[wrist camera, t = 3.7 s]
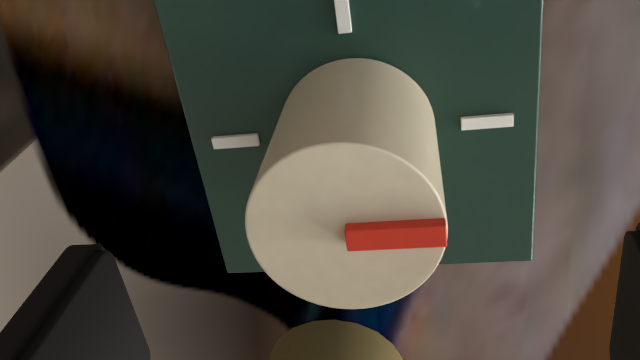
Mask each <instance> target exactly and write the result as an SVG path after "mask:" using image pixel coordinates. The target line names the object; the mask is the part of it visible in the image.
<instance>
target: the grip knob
mask: <svg viewBox="0 0 640 360" xmlns="http://www.w3.org/2000/svg"><path fill="white" fill-rule="evenodd" d="M245 229H246V235H247V239H248V242H249V245H250V248H251V250H252V252H253V255H254V257H255V258H256V260H257V262H258V263H259V265H260V266H261V267H262V269H263V270H264V271H265V272H266V273H267V274H268V276H269V277H271V278H272V279H273V280H274V281H275V282H276V283H277V284H278V285H280V286H281V287H283V288H284V289H285V290H287V291H289V292H290V293H292V294H294V295H296V296H297V297H300V298H302V299H304V300H307V301H309V302H312V303H315V304H318V305H322V306H327V307H332V308H340V309H363V308H371V307H376V306H381V305H384V304H387V303H391V302H393V301H396V300H398V299H400V298H402V297H404V296H406V295H408V294H409V293H411V292H413V291H414V290H415V289H417V288H418V287H419V286H421V285H422V284H423V283H424V282H425V281H426V280H427V279H428V278H429V277H430V275H431V274H432V273H433V272H434V270H435V269H436V267H437V266H438V264H439V262H440V260H441V258H442V256H443V253H444V250H445V247H447V238H448V223H447V215H446V207H445V199H444V191H443V183H442V174H441V166H440V158H439V150H438V142H437V134H436V126H435V118H434V114H433V110H432V107H431V105H430V102H429V100H428V98H427V97H426V95H425V93H424V92H423V90H422V89H421V88H420V87H419V85H418V84H417V83H416V82H415V81H414V80H413V79H412V78H410V77H409V76H408V75H407V74H405V73H404V72H402V71H401V70H399V69H397V68H395V67H393V66H391V65H389V64H386V63H383V62H381V61H376V60H372V59H364V58H348V59H342V60H336V61H333V62H330V63H327V64H324V65H322V66H320V67H318V68H316V69H315V70H313V71H311V72H310V73H308V74H307V75H306V76H305V77H304V78H302V79H301V80H300V81H299V82H298V84H297V85H296V86H295V87H294V88H293V90H292V91H291V93H290V94H289V96H288V98H287V100H286V102H285V105H284V107H283V110H282V113H281V115H280V118H279V120H278V123H277V126H276V128H275V131H274V133H273V136H272V138H271V141H270V144H269V146H268V149H267V151H266V154H265V157H264V159H263V162H262V164H261V167H260V170H259V172H258V175H257V177H256V180H255V182H254V185H253V188H252V190H251V193H250V196H249V199H248V202H247V205H246V212H245Z"/></svg>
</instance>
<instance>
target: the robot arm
mask: <svg viewBox="0 0 640 360" xmlns="http://www.w3.org/2000/svg"><path fill="white" fill-rule="evenodd" d="M0 360H150V350H149V347H148V344H147V342H146V339H145V337H144V334H143V332H142V329H141V327H140V324H139V322H138V318H137V316H136V313H135V311H134V308H133V306H132V303H131V300H130V298H129V295H128V292H127V290H126V287H125V285H124V282H123V279H122V277H121V274H120V272H119V269H118V266H117V264H116V261H115V259H114V256H113V254H112V253H111V252H108V251H105V249H104V248H103V247H102V246H101V245H98V244H91V245H72V246H69V247H68V248H66V250H65V251H64V252H63V253H62V254H61V256H60V257H59V258H58V259H57V261H56V262H55V263H54V265H53V266H52V267H51V268H50V270H49V271H48V272H47V274H46V275H45V276H44V277H43V279H42V280H41V281H40V283H39V284H38V285H37V286H36V288H35V289H34V290H33V291H32V293H31V294H30V295H29V297H28V298H27V299H26V300H25V302H24V303H23V304H22V306H21V307H20V308H19V309H18V311H17V312H16V313H15V314H14V316H13V317H12V318H11V320H10V321H9V322H8V324H7V325H6V326H5V327H4V329H3V330H2V331H1V332H0ZM610 360H640V223H638V225H637V227H636V231H628V232H626V234H625V236H624V242H623V250H622V257H621V265H620V272H619V280H618V287H617V295H616V302H615V310H614V317H613V325H612V332H611V340H610Z"/></svg>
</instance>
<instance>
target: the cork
mask: <svg viewBox="0 0 640 360" xmlns="http://www.w3.org/2000/svg"><path fill="white" fill-rule="evenodd" d="M270 360H403V358H402V357H401V355H400V354H399V352H398V351H397V349H396V348H395V346H394V345H393V344H392V343H391V342H390V341H388V340H387V339H386V338H384V337H383V336H382V335H381V334H379V333H378V332H376V331H374V330H372V329H369V328H367V327H365V326H362V325H360V324H357V323H352V322H346V321H340V320H322V321H311V322H308V323H305V324H303V325H300V326H297V327H294V328H292V329H291V330H289V331H288V332H287V333H285V334H284V335H283V336H281V337H280V338H279V339H278V340H277V342H276V343H275V345H274V347H273V348H272V350H271V352H270Z"/></svg>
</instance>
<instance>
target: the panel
mask: <svg viewBox="0 0 640 360" xmlns="http://www.w3.org/2000/svg"><path fill="white" fill-rule="evenodd" d="M543 2H544V0H154V3H155V7H156V11H157V14H158V18H159V22H160V26H161V29H162V33H163V37H164V40H165V44H166V48H167V51H168V55H169V59H170V62H171V66H172V70H173V74H174V77H175V81H176V85H177V88H178V92H179V96H180V99H181V103H182V107H183V110H184V114H185V118H186V121H187V125H188V129H189V133H190V136H191V140H192V144H193V147H194V151H195V155H196V158H197V162H198V166H199V169H200V173H201V177H202V181H203V184H204V188H205V192H206V195H207V199H208V203H209V206H210V210H211V214H212V217H213V221H214V225H215V228H216V232H217V236H218V240H219V243H220V247H221V251H222V254H223V258H224V262H225V265H226V269H227V272H228V273H241V272H265V271H264V270H263V269H262V267H261V266H260V265H259V263H258V262H257V260H256V258H255V257H254V255H253V252H252V250H251V248H250V245H249V242H248V239H247V235H246V229H245V212H246V205H247V202H248V199H249V196H250V193H251V190H252V188H253V185H254V182H255V180H256V177H257V175H258V172H259V170H260V167H261V164H262V162H263V159H264V157H265V154H266V151H267V149H268V146H269V144H270V141H271V138H272V136H273V133H274V131H275V128H276V126H277V123H278V120H279V118H280V115H281V113H282V110H283V107H284V105H285V102H286V100H287V98H288V96H289V94H290V93H291V91H292V90H293V88H294V87H295V86H296V85H297V84H298V82H299V81H300V80H301V79H302V78H304V77H305V76H306V75H307V74H308V73H310V72H311V71H313V70H315V69H316V68H318V67H320V66H322V65H324V64H327V63H330V62H333V61H336V60H342V59H348V58H364V59H372V60H376V61H381V62H383V63H386V64H389V65H391V66H393V67H395V68H397V69H399V70H401V71H402V72H404V73H405V74H407V75H408V76H409V77H410V78H412V79H413V80H414V81H415V82H416V83H417V84H418V85H419V87H420V88H421V89H422V90H423V92H424V93H425V95H426V97H427V98H428V100H429V102H430V105H431V107H432V110H433V114H434V118H435V126H436V134H437V142H438V150H439V158H440V166H441V174H442V183H443V191H444V199H445V207H446V215H447V223H448V238H447V247H445V250H444V253H443V256H442V258H441V260H440V262H439V264H456V263H480V262H503V261H527V260H532V258H533V240H534V216H535V192H536V168H537V145H538V121H539V97H540V73H541V50H542V26H543Z"/></svg>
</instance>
